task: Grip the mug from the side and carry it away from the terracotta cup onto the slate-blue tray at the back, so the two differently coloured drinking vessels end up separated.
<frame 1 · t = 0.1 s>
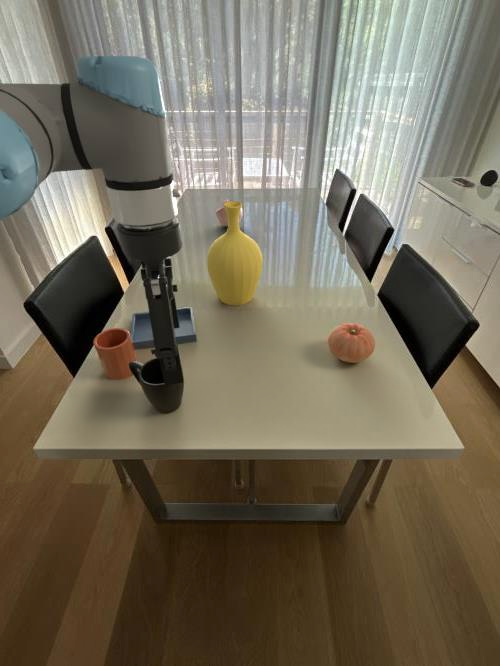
hand: (172, 352, 54), 19 cm above the table, tool pointing down, fingers open, 13 cm apart
mug: (161, 400, 72), on the table
tray: (164, 330, 91), on the table
orange pumpkin: (348, 355, 83), on the table
vase: (236, 297, 105), on the table
mortar and pestle: (229, 226, 154), on the table
terracotta cup: (121, 368, 79), on the table
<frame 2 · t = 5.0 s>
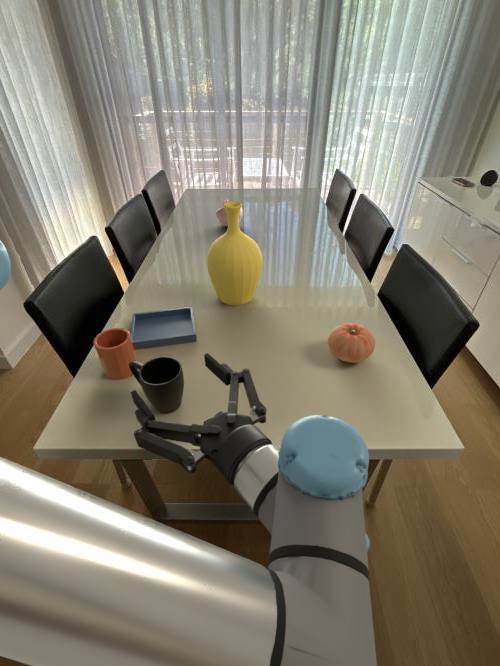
hand: (172, 376, 57), 14 cm above the table, tool horizontal, fingers open, 13 cm apart
nothing on the table moved.
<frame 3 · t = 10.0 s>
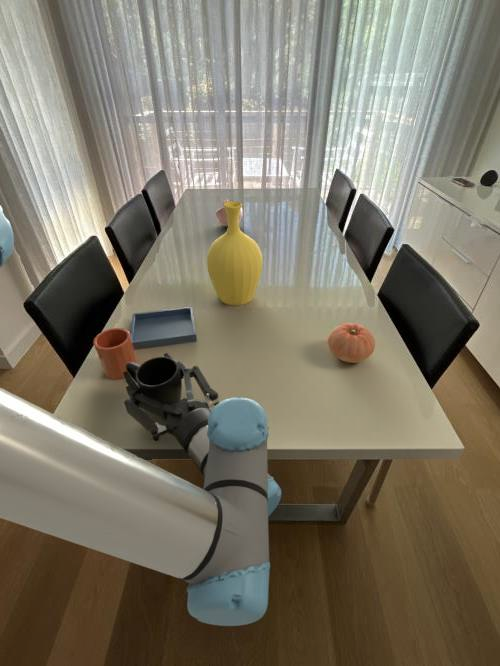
hand: (146, 367, 71), 6 cm above the table, tool horizontal, fingers closed on mug, 8 cm apart
mug: (160, 400, 72), on the table, touching gripper
everything else where it was.
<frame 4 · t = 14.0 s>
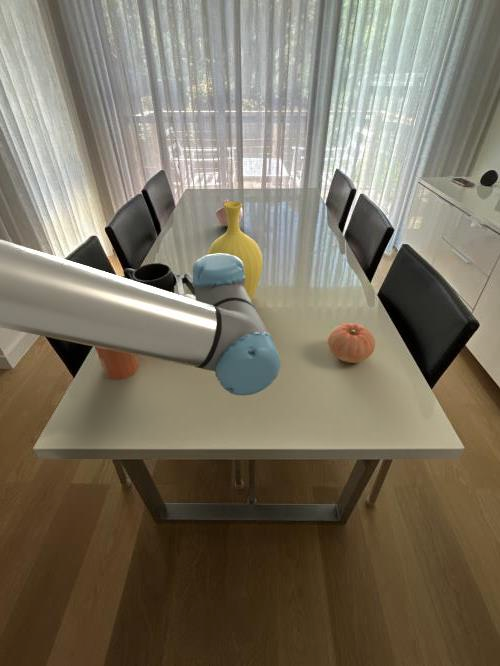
hand: (142, 275, 78), 18 cm above the table, tool horizontal, fingers closed on mug, 8 cm apart
mug: (155, 307, 78), point 12 cm above the table, touching gripper
everything else where it was.
when the fingers open (7 cm above the table, at t = 18.5 s): mug stays where it is, resting on tray.
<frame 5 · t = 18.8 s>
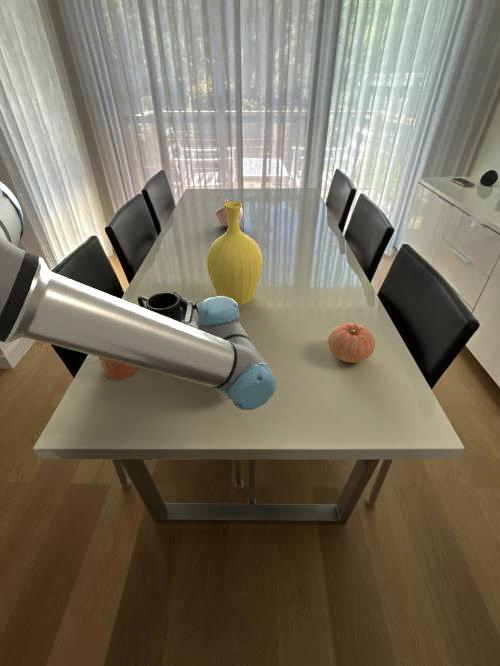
hand: (153, 304, 90), 6 cm above the table, tool horizontal, fingers open, 11 cm apart
mug: (162, 329, 91), resting on tray
everything else where it was.
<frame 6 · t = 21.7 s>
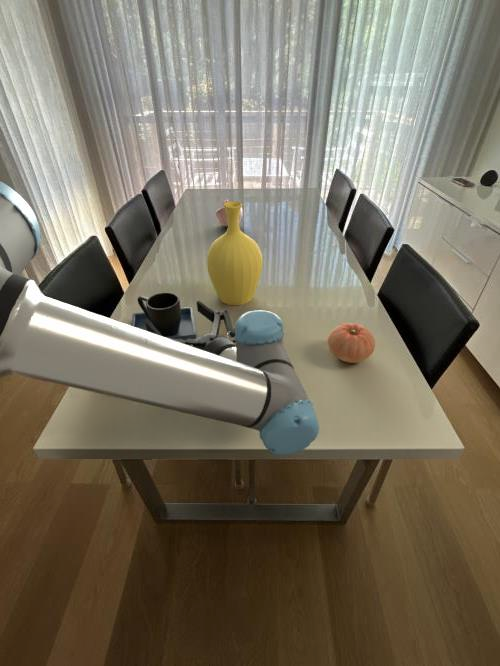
hand: (173, 315, 81), 9 cm above the table, tool horizontal, fingers open, 13 cm apart
nothing on the table moved.
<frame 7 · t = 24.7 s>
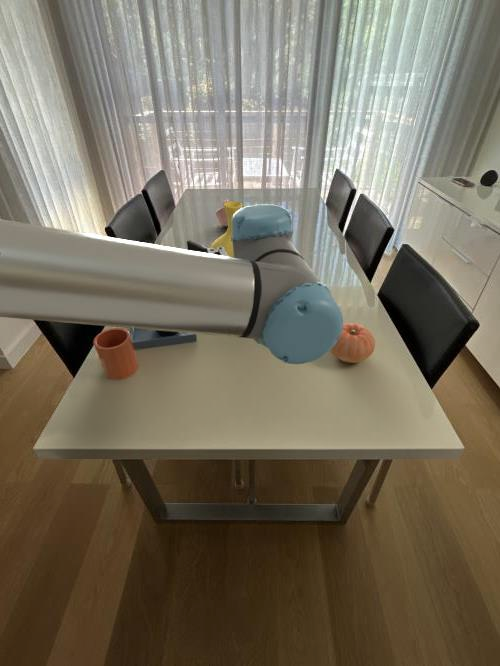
hand: (160, 255, 69), 25 cm above the table, tool horizontal, fingers open, 13 cm apart
nothing on the table moved.
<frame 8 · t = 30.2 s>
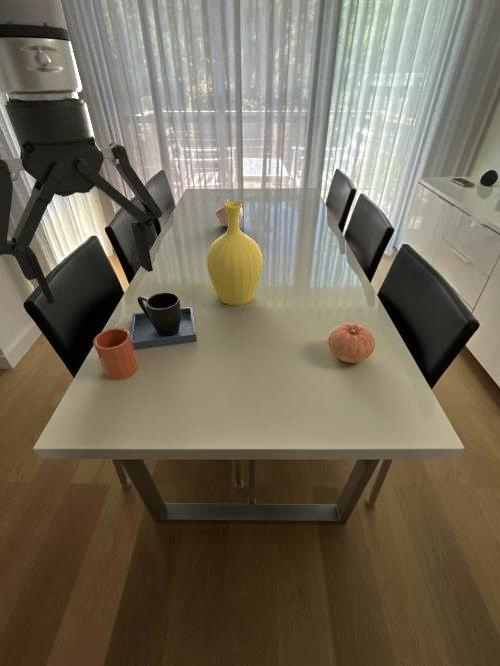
hand: (101, 282, 47), 32 cm above the table, tool pointing down, fingers open, 13 cm apart
nothing on the table moved.
at the end: mug inside the target area in the tray (0.3 cm from its centre), point 0.3 cm above the tray's base; mug tilted 0°; terracotta cup moved 0.0 cm from its start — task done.
